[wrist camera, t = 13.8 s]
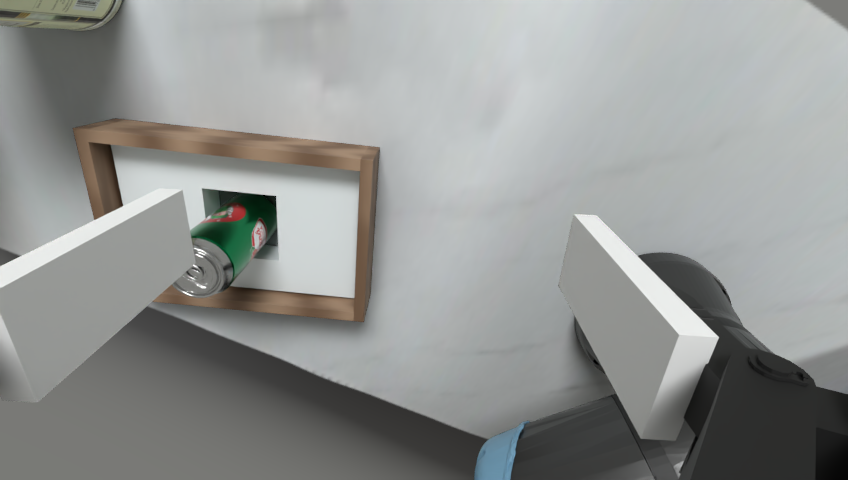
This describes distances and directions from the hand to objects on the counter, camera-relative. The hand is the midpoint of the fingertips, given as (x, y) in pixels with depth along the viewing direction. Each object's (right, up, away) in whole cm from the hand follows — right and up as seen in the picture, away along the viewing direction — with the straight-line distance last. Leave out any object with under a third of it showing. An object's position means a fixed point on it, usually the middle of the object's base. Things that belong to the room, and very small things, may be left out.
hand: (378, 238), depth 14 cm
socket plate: (-15, +2, +27) cm, 31 cm away
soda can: (-15, +3, +28) cm, 32 cm away
